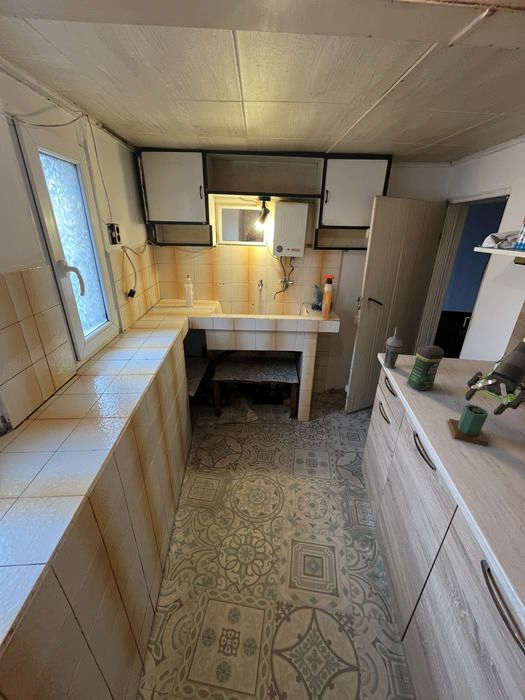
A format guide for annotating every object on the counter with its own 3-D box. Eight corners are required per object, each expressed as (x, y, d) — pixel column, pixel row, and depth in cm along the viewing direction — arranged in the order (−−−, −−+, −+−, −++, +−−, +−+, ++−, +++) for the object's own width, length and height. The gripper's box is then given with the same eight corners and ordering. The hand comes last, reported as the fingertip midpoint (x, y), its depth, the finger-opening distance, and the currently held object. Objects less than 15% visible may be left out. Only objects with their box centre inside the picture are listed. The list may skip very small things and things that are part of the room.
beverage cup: (399, 369, 134) (410, 330, 126) (384, 369, 134) (394, 330, 126) (392, 362, 141) (402, 325, 132) (378, 362, 141) (387, 324, 132)
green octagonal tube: (475, 426, 95) (484, 407, 92) (480, 437, 90) (490, 417, 87) (455, 422, 97) (463, 403, 94) (460, 433, 92) (468, 413, 89)
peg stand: (477, 428, 97) (488, 405, 93) (486, 446, 89) (497, 422, 85) (448, 421, 100) (456, 399, 96) (454, 438, 92) (463, 414, 88)
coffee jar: (417, 392, 116) (430, 352, 108) (403, 383, 123) (415, 344, 115) (435, 389, 119) (449, 350, 111) (421, 380, 126) (433, 342, 118)
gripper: (541, 385, 87) (506, 424, 87) (491, 365, 98) (460, 399, 98) (540, 373, 82) (503, 414, 83) (488, 353, 94) (455, 389, 94)
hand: (480, 406), depth 90 cm, fingers open, 8 cm apart
